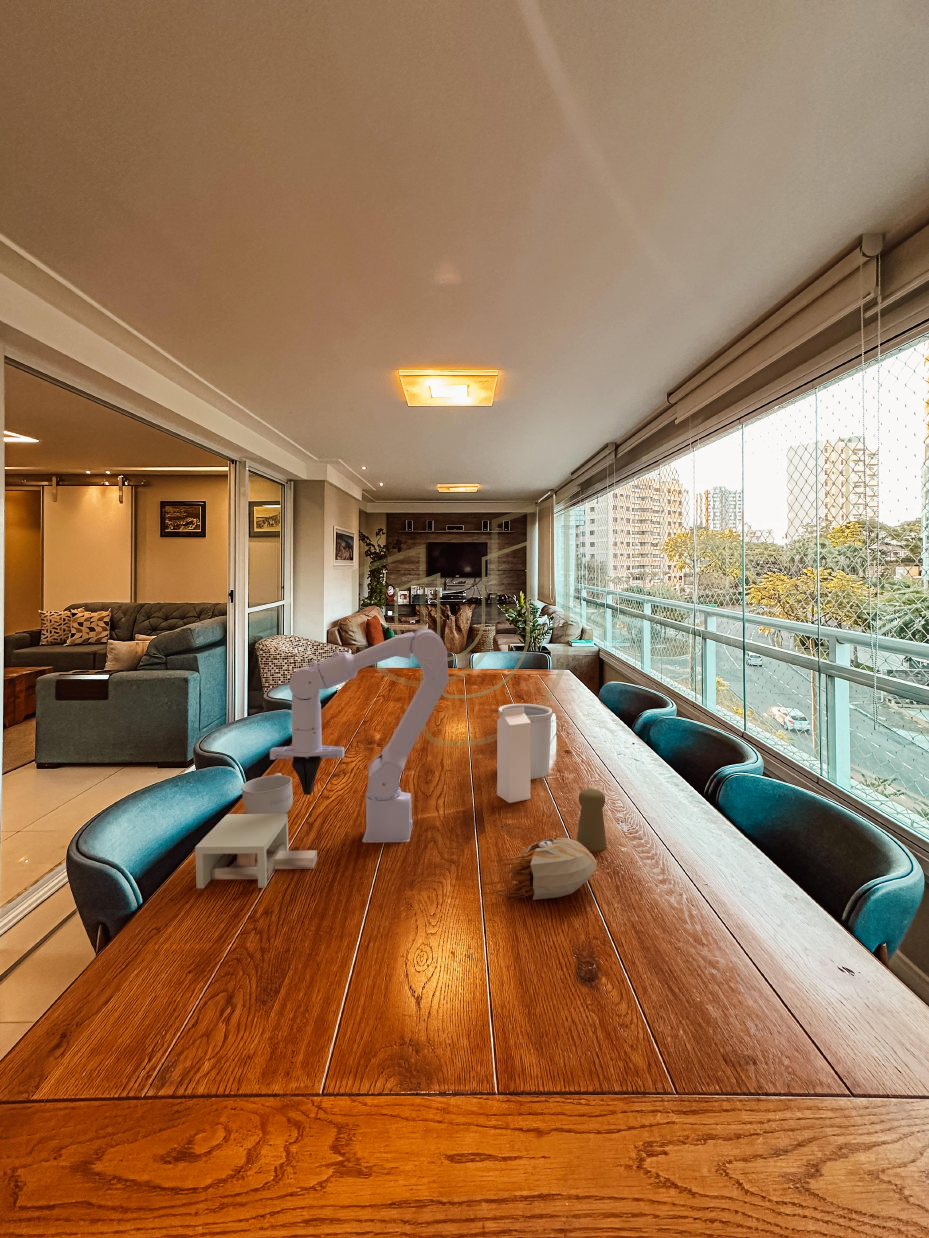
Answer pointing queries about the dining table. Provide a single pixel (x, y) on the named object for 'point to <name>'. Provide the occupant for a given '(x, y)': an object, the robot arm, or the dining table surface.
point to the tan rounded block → (245, 859)
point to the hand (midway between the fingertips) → (308, 793)
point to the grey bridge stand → (240, 842)
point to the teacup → (268, 795)
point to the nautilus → (548, 869)
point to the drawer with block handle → (275, 860)
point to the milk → (513, 755)
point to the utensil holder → (537, 736)
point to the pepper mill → (592, 820)
